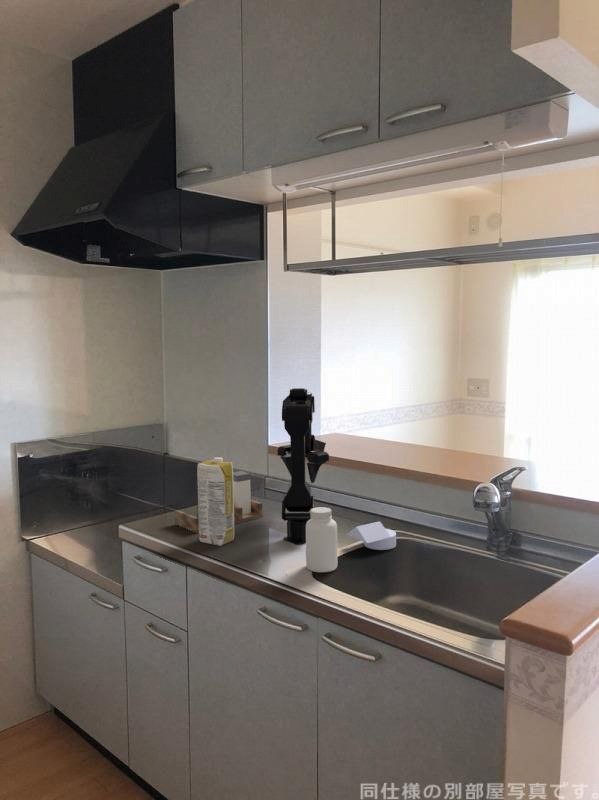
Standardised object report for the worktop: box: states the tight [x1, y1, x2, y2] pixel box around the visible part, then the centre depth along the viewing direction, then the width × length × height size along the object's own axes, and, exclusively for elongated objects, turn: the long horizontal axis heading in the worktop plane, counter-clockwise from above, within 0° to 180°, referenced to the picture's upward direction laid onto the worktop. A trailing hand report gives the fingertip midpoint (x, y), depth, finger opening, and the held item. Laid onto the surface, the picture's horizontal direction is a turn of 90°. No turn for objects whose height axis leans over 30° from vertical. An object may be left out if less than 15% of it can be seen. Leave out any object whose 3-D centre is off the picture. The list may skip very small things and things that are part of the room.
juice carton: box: [196, 457, 235, 547], centre depth 183 cm, size 9×8×24 cm
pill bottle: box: [305, 506, 338, 573], centre depth 163 cm, size 8×8×15 cm
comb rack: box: [174, 499, 264, 534], centre depth 204 cm, size 12×25×4 cm, turn 132°
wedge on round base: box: [345, 521, 397, 551], centre depth 179 cm, size 9×7×13 cm
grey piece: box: [233, 470, 252, 515], centre depth 209 cm, size 5×5×13 cm
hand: (302, 480), depth 206 cm, fingers open, 9 cm apart
